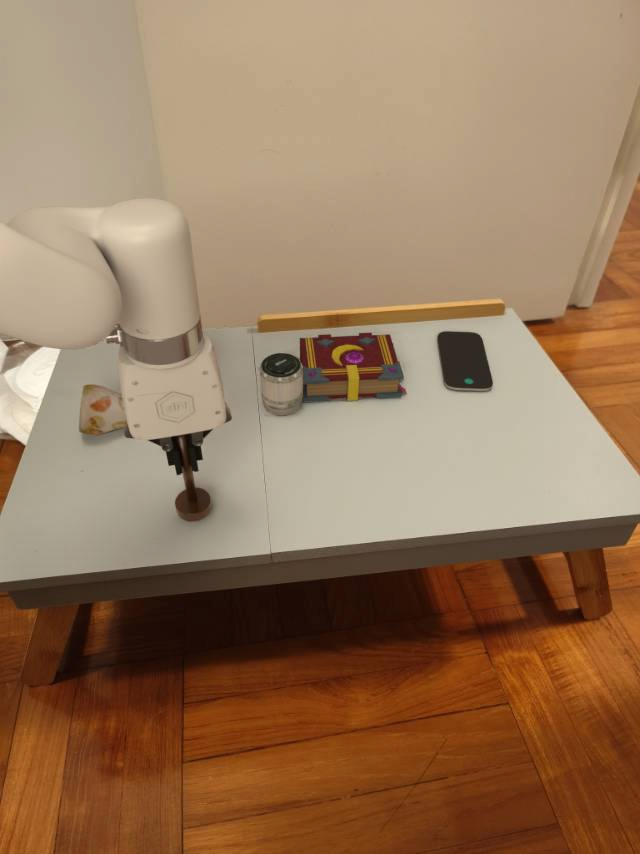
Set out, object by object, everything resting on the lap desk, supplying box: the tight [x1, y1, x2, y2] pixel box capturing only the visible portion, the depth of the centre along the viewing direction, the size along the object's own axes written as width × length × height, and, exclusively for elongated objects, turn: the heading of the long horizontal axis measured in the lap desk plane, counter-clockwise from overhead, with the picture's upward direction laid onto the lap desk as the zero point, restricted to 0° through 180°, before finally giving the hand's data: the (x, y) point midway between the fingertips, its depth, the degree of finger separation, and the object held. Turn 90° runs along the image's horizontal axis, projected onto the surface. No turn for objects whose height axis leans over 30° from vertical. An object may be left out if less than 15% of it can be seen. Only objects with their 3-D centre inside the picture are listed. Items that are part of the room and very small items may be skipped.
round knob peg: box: [174, 434, 213, 523], centre depth 72 cm, size 4×4×14 cm
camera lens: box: [258, 352, 303, 416], centre depth 91 cm, size 6×6×8 cm
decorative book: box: [299, 332, 408, 403], centre depth 96 cm, size 11×16×5 cm
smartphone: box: [436, 330, 494, 392], centre depth 101 cm, size 8×1×15 cm
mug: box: [78, 383, 126, 436], centre depth 87 cm, size 8×10×10 cm
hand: (186, 464), depth 72 cm, fingers closed on round knob peg, 1 cm apart
